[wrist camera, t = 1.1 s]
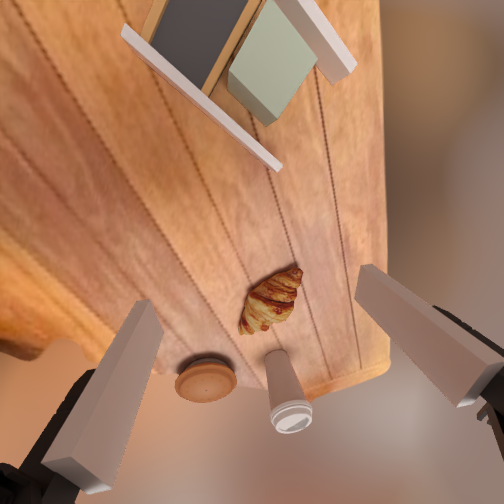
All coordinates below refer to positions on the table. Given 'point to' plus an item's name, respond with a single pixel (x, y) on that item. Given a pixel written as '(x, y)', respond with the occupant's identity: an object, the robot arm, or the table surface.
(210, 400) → the pie
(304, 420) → the coffee cup
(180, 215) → the table surface
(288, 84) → the block
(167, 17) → the drawer
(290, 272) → the croissant
